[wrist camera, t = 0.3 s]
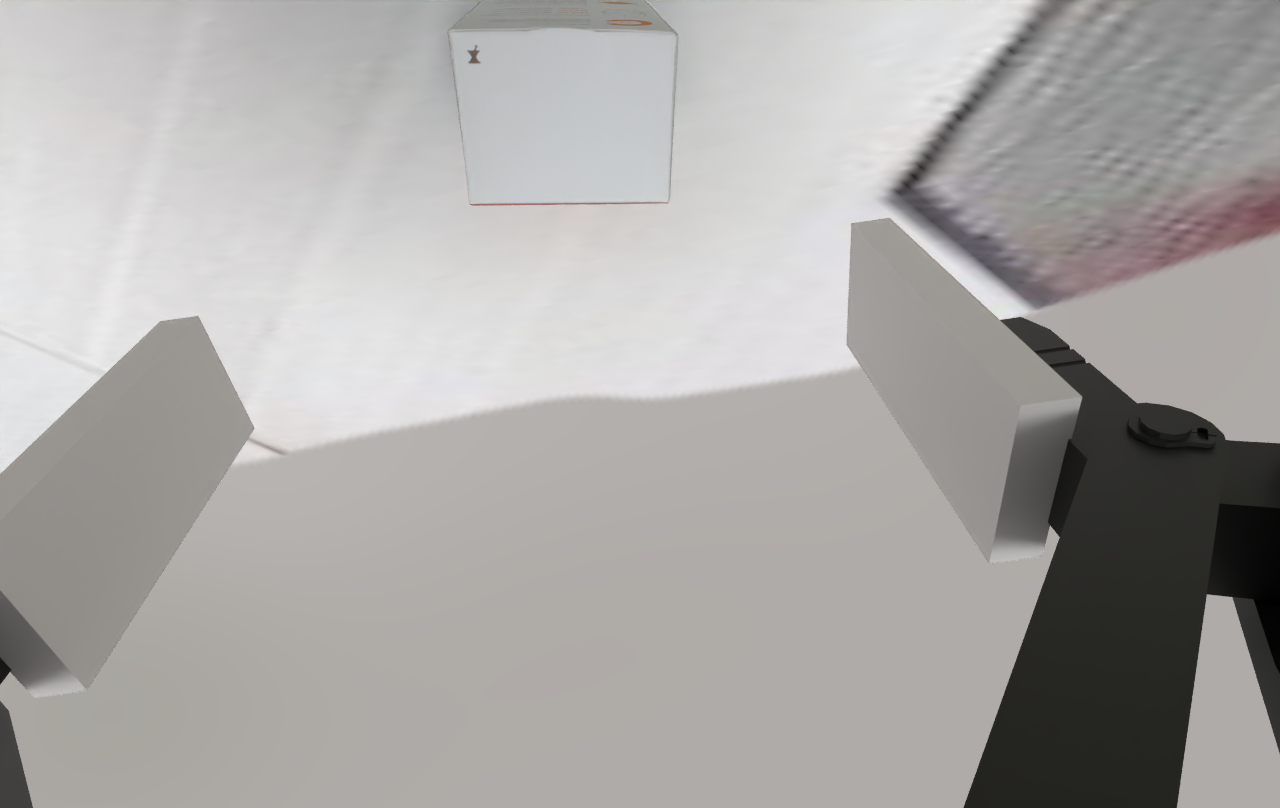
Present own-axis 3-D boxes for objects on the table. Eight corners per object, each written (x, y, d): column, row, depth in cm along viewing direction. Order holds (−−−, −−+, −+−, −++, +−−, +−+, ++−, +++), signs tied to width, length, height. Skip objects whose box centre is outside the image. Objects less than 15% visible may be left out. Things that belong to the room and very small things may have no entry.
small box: (494, 130, 39) (463, 208, 28) (482, -6, 36) (442, 24, 25) (645, 130, 40) (672, 206, 29) (648, -4, 36) (679, 26, 26)
